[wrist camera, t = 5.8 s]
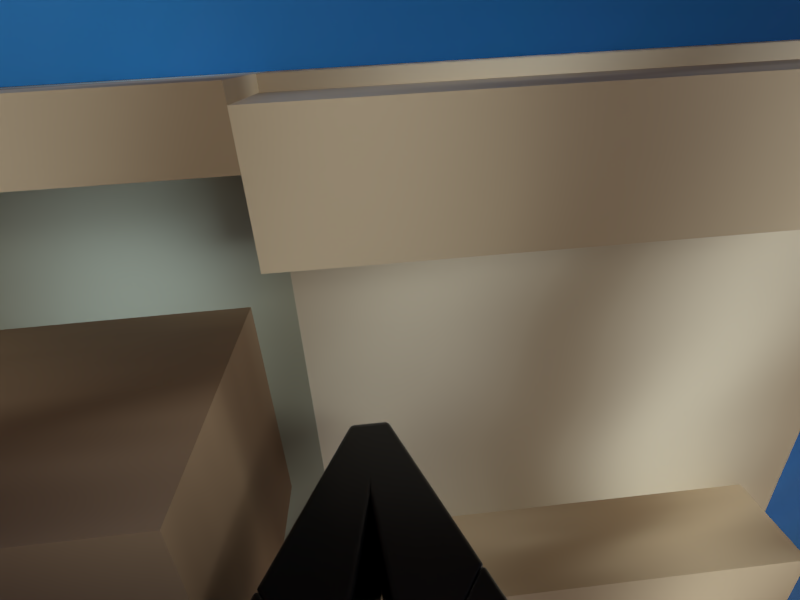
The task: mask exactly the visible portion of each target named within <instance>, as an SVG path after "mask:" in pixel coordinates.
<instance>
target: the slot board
mask: <svg viewBox="0 0 800 600" xmlns="http://www.w3.org/2000/svg"><path fill="white" fill-rule="evenodd" d="M246 307H251V310H252V314H253V319H254V323H255V327H256V332H257V336H258V341H259V345H260V349H261V354H262V358H263V362H264V367H265V371H266V376H267V380H268V384H269V389H270V393H271V398H272V402H273V406H274V411H275V415H276V420H277V424H278V428H279V433H280V437H281V442H282V446H283V450H284V455H285V459H286V463H287V468H288V472H289V477H290V481H291V485H292V489H291V496H290V503H289V510H288V517H287V524H286V531H285V538H284V541H285V539H286V537H287V536H288V534H289V532H290V530H291V529H292V527H293V525H294V523H295V522H296V520H297V518H298V516H299V515H300V513H301V511H302V510H303V508H304V506H305V504H306V503H307V501H308V499H309V497H310V496H311V494H312V492H313V490H314V489H315V487H316V485H317V483H318V482H319V480H320V478H321V476H322V475H323V473H324V471H325V469H326V468H327V466H328V464H329V463H330V461H331V459H332V457H333V456H334V454H335V452H336V450H337V449H338V447H339V445H340V443H341V442H342V440H343V438H344V436H345V435H346V433H347V431H348V430H349V428H350V427H351V426H352V425H359V424H369V423H379V422H387V423H389V424H390V425H391V427H392V428H393V430H394V431H395V433H396V434H397V436H398V437H399V439H400V440H401V442H402V443H403V445H404V446H405V448H406V449H407V451H408V452H409V454H410V455H411V457H412V458H413V460H414V461H415V463H416V464H417V466H418V467H419V469H420V470H421V472H422V473H423V475H424V476H425V478H426V479H427V481H428V482H429V484H430V485H431V487H432V488H433V490H434V491H435V493H436V494H437V496H438V497H439V499H440V500H441V502H442V503H443V505H444V506H445V508H446V509H447V511H448V512H449V514H450V515H451V517H452V518H453V520H454V521H455V523H456V524H457V526H458V527H459V529H460V530H461V532H462V533H463V535H464V536H465V538H466V539H467V541H468V542H469V544H470V545H471V547H472V548H473V550H474V551H475V553H476V554H477V556H478V557H479V559H480V560H481V562H482V563H483V567H485V568H486V569H487V570H488V572H489V573H490V575H491V576H492V578H493V579H494V581H495V582H496V584H497V585H498V587H499V588H500V589H501V591H502V592H503V594H504V595H505V596H506V598H507V599H508V600H787V599H788V597H789V595H790V593H791V591H792V589H793V587H794V586H795V584H796V582H797V580H798V578H799V576H800V550H799V549H798V548H797V547H796V546H795V545H794V544H793V543H792V542H791V540H790V539H789V538H788V537H787V536H786V535H785V534H784V533H783V532H782V531H781V529H780V528H779V527H778V526H777V525H776V524H775V523H774V522H773V521H772V519H771V518H770V517H769V516H768V515H767V514H766V513H765V510H766V508H767V505H768V503H769V501H770V498H771V496H772V494H773V491H774V489H775V487H776V484H777V482H778V480H779V478H780V475H781V473H782V471H783V468H784V466H785V464H786V461H787V459H788V457H789V454H790V452H791V450H792V448H793V445H794V443H795V441H796V438H797V436H798V434H799V431H800V39H799V40H782V41H766V42H749V43H732V44H716V45H699V46H683V47H666V48H649V49H633V50H616V51H599V52H583V53H566V54H549V55H533V56H516V57H499V58H483V59H466V60H449V61H433V62H416V63H399V64H383V65H366V66H350V67H333V68H316V69H300V70H283V71H266V72H250V73H233V74H216V75H200V76H183V77H166V78H150V79H133V80H116V81H100V82H83V83H66V84H50V85H33V86H16V87H0V330H4V329H15V328H26V327H37V326H48V325H59V324H70V323H81V322H92V321H103V320H114V319H125V318H136V317H147V316H158V315H169V314H180V313H191V312H202V311H213V310H224V309H235V308H246ZM381 600H383V599H382V597H381Z"/></svg>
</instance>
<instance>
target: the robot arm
mask: <svg viewBox="0 0 800 600" xmlns="http://www.w3.org/2000/svg"><path fill="white" fill-rule="evenodd" d="M257 591H258V593H254V594H253V596H252V598H251V600H381V597H382V599H383V600H508V599H507V598H506V596H505V595H504V594H503V592H502V591H501V589H500V588H499V587H498V585H497V584H496V582H495V581H494V579H493V578H492V576H491V575H490V573H489V572H488V570H487V569H486V568H485V567H483V563H482V562H481V560H480V559H479V557H478V556H477V554H476V553H475V551H474V550H473V548H472V547H471V545H470V544H469V542H468V541H467V539H466V538H465V536H464V535H463V533H462V532H461V530H460V529H459V527H458V526H457V524H456V523H455V521H454V520H453V518H452V517H451V515H450V514H449V512H448V511H447V509H446V508H445V506H444V505H443V503H442V502H441V500H440V499H439V497H438V496H437V494H436V493H435V491H434V490H433V488H432V487H431V485H430V484H429V482H428V481H427V479H426V478H425V476H424V475H423V473H422V472H421V470H420V469H419V467H418V466H417V464H416V463H415V461H414V460H413V458H412V457H411V455H410V454H409V452H408V451H407V449H406V448H405V446H404V445H403V443H402V442H401V440H400V439H399V437H398V436H397V434H396V433H395V431H394V430H393V428H392V427H391V425H390V424H389V423H387V422H379V423H369V424H359V425H352V426H351V427H350V428H349V430H348V431H347V433H346V435H345V436H344V438H343V440H342V442H341V443H340V445H339V447H338V449H337V450H336V452H335V454H334V456H333V457H332V459H331V461H330V463H329V464H328V466H327V468H326V469H325V471H324V473H323V475H322V476H321V478H320V480H319V482H318V483H317V485H316V487H315V489H314V490H313V492H312V494H311V496H310V497H309V499H308V501H307V503H306V504H305V506H304V508H303V510H302V511H301V513H300V515H299V516H298V518H297V520H296V522H295V523H294V525H293V527H292V529H291V530H290V532H289V534H288V536H287V537H286V539H285V541H284V543H283V544H282V546H281V548H280V550H279V551H278V553H277V555H276V556H275V558H274V560H273V562H272V563H271V565H270V567H269V569H268V570H267V572H266V574H265V576H264V577H263V579H262V581H261V583H260V584H259V586H258V588H257Z"/></svg>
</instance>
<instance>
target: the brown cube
mask: <svg viewBox="0 0 800 600" xmlns="http://www.w3.org/2000/svg"><path fill="white" fill-rule="evenodd" d="M291 489H292V485H291V481H290V477H289V472H288V468H287V463H286V459H285V455H284V450H283V446H282V442H281V437H280V433H279V428H278V424H277V420H276V415H275V411H274V406H273V402H272V398H271V393H270V389H269V384H268V380H267V376H266V371H265V367H264V362H263V358H262V354H261V349H260V345H259V341H258V336H257V332H256V327H255V323H254V319H253V314H252V310H251V307H246V308H235V309H224V310H213V311H202V312H191V313H180V314H169V315H158V316H147V317H136V318H125V319H114V320H103V321H92V322H81V323H70V324H59V325H48V326H37V327H26V328H15V329H4V330H0V600H251V598H252V596H253V594H254V593H258V591H257V588H258V586H259V584H260V583H261V581H262V579H263V577H264V576H265V574H266V572H267V570H268V569H269V567H270V565H271V563H272V562H273V560H274V558H275V556H276V555H277V553H278V551H279V550H280V548H281V546H282V544H283V543H284V538H285V531H286V524H287V517H288V510H289V503H290V496H291Z"/></svg>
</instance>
